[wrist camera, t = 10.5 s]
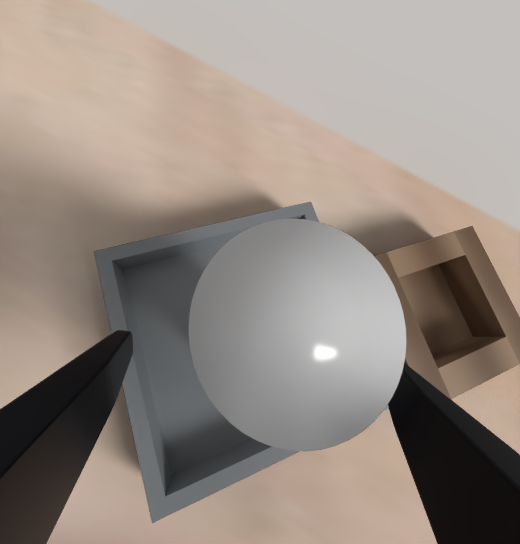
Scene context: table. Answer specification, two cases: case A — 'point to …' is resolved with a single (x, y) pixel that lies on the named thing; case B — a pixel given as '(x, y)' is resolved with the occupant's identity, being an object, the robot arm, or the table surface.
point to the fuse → (297, 334)
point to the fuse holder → (454, 311)
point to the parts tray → (177, 365)
